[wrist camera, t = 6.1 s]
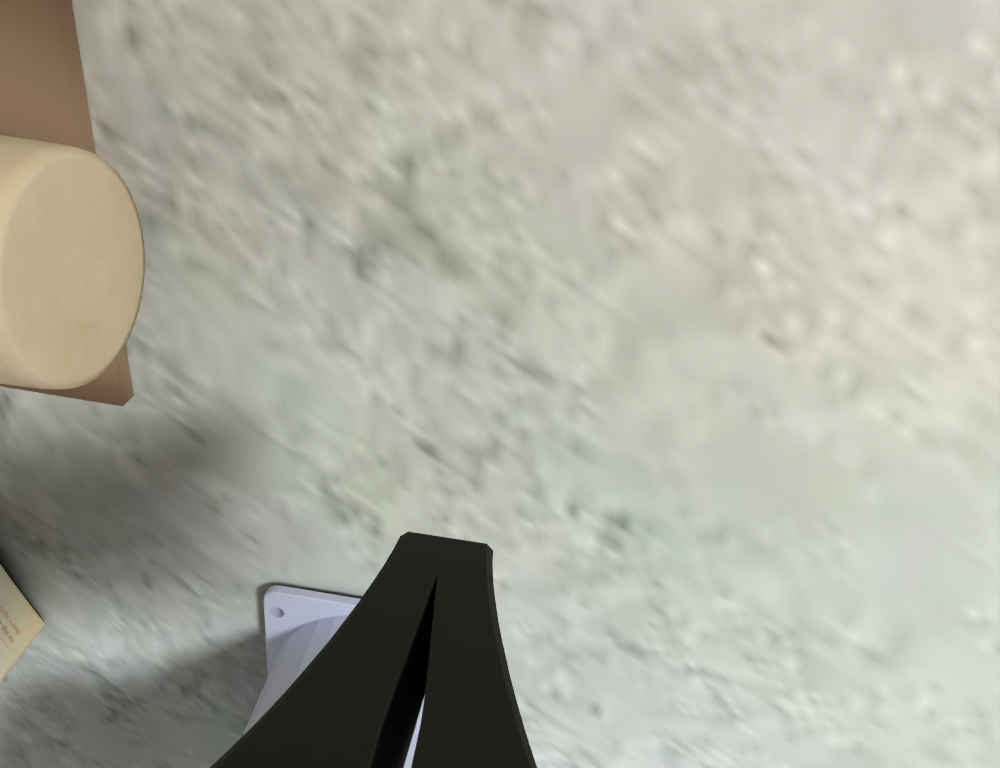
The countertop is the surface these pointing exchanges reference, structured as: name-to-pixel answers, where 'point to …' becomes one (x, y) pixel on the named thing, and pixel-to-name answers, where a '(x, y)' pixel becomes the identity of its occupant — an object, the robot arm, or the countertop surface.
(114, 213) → the candle
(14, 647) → the coffeecake box
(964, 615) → the countertop surface
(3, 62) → the walnut board
